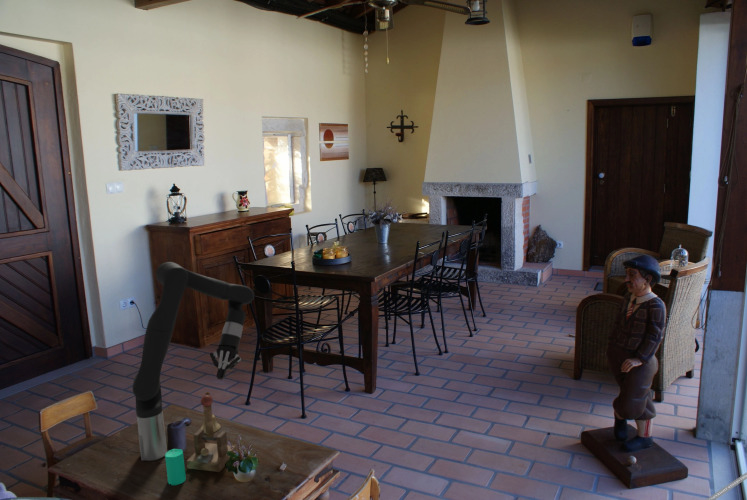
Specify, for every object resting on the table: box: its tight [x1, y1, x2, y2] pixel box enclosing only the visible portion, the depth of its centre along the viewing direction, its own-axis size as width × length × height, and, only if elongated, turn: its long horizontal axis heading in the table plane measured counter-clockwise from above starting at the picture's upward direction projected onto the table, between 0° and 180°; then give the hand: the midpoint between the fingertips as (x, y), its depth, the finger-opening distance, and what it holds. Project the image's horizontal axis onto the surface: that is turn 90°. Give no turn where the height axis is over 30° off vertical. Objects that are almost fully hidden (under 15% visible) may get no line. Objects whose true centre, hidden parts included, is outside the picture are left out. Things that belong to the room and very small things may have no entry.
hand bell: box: [200, 391, 222, 434], centre depth 239 cm, size 8×8×16 cm
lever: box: [200, 394, 217, 442], centre depth 213 cm, size 6×4×18 cm
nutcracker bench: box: [186, 429, 237, 473], centre depth 215 cm, size 13×13×11 cm
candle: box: [164, 448, 187, 486], centre depth 203 cm, size 6×6×12 cm
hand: (219, 379), depth 222 cm, fingers closed
